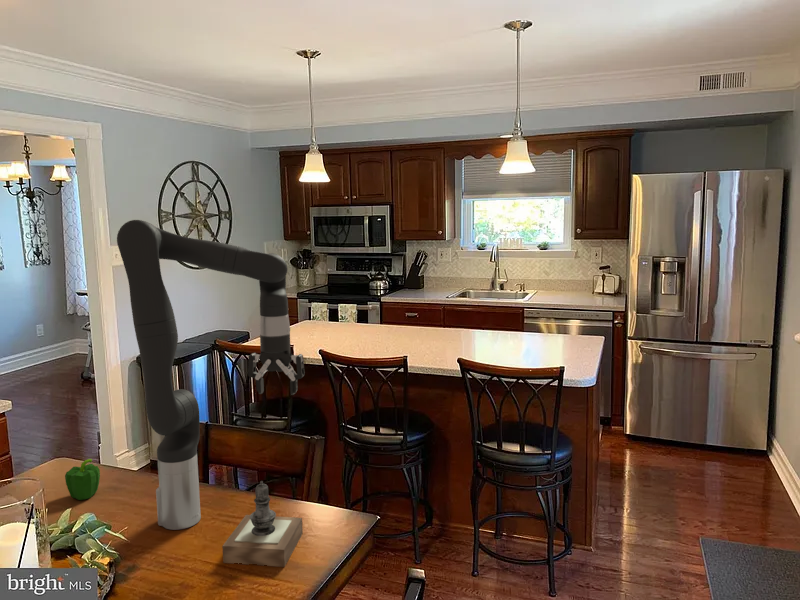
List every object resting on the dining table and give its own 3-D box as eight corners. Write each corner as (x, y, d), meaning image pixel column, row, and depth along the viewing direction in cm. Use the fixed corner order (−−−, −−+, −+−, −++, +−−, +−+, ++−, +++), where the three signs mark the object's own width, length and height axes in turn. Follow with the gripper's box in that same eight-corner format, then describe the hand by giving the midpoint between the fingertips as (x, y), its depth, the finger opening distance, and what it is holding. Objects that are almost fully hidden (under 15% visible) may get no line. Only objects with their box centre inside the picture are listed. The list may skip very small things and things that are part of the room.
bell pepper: (67, 506, 161) (64, 470, 159) (66, 493, 168) (63, 459, 166) (102, 498, 165) (99, 463, 163) (100, 487, 172) (97, 453, 171)
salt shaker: (270, 538, 136) (268, 487, 134) (245, 535, 137) (243, 485, 136) (280, 524, 142) (278, 476, 140) (256, 522, 143) (254, 474, 141)
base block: (223, 562, 134) (222, 544, 134) (246, 530, 148) (245, 513, 147) (284, 566, 132) (284, 548, 132) (302, 533, 146) (302, 516, 146)
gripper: (242, 334, 152) (245, 397, 155) (297, 335, 151) (299, 398, 153) (253, 329, 160) (255, 388, 162) (306, 329, 158) (307, 390, 160)
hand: (277, 393), depth 157 cm, fingers open, 8 cm apart
